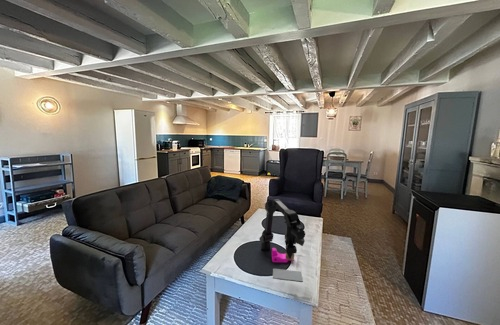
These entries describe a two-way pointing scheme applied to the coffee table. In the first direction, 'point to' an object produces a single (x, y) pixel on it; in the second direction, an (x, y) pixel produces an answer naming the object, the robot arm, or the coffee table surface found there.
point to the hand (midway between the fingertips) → (289, 255)
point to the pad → (287, 275)
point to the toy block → (278, 256)
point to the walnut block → (291, 257)
